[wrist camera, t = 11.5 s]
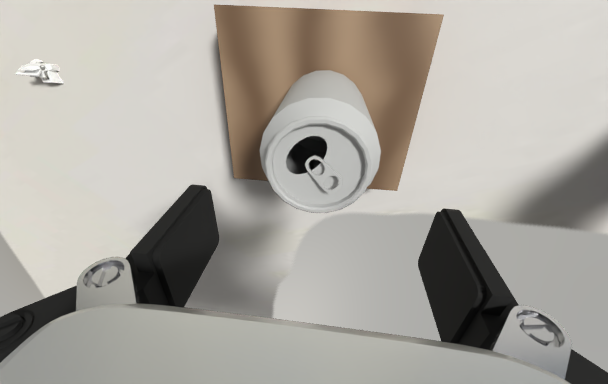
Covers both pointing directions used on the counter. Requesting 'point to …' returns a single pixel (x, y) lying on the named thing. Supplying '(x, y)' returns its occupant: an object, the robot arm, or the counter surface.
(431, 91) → the counter surface
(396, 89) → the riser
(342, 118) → the can
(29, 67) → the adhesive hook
